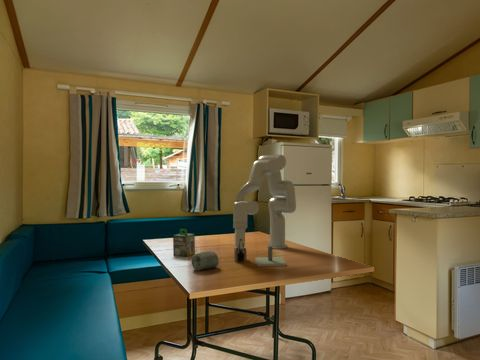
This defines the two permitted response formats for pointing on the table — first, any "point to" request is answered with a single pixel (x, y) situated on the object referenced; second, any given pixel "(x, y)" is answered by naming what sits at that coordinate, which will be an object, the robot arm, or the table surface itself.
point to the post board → (270, 260)
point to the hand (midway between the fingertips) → (240, 258)
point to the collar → (237, 255)
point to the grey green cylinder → (204, 260)
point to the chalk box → (184, 244)
